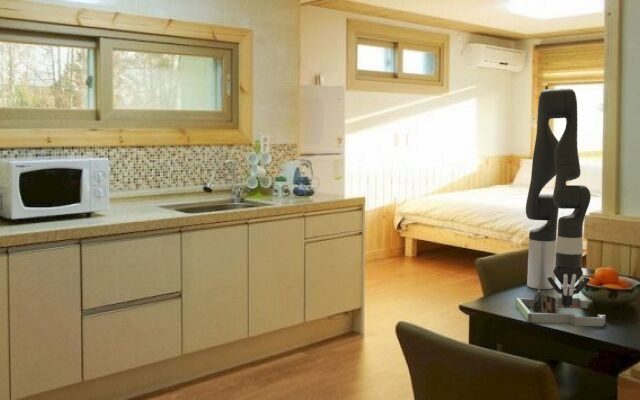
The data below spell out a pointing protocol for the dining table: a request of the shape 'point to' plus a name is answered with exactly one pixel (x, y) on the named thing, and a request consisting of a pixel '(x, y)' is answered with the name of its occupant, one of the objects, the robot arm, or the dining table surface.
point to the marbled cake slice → (544, 304)
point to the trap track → (559, 318)
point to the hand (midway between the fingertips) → (566, 306)
